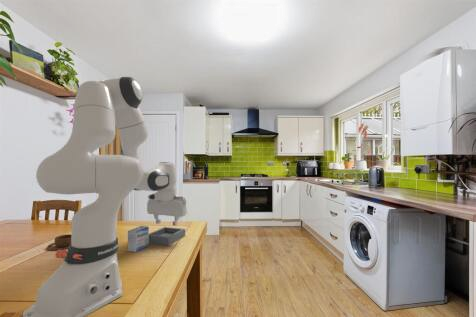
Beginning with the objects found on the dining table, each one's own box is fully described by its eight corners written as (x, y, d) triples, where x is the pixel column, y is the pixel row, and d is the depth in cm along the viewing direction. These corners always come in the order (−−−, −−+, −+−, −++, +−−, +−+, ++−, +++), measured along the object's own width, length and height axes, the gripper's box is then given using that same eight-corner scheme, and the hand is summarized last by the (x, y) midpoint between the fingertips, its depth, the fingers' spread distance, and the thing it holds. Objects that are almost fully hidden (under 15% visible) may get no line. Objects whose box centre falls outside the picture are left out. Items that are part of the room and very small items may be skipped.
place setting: (90, 240, 113) (90, 228, 113) (83, 256, 95) (83, 241, 95) (44, 246, 106) (44, 233, 106) (27, 264, 88) (27, 248, 88)
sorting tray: (185, 235, 118) (185, 228, 118) (168, 245, 105) (168, 237, 105) (164, 233, 122) (164, 226, 122) (146, 242, 109) (146, 234, 109)
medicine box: (136, 252, 97) (136, 231, 97) (127, 251, 99) (127, 230, 99) (149, 245, 105) (149, 226, 105) (140, 244, 106) (140, 225, 106)
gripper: (189, 195, 113) (189, 224, 113) (153, 193, 120) (153, 221, 120) (182, 197, 107) (182, 228, 107) (145, 195, 114) (144, 224, 114)
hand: (166, 224), depth 114 cm, fingers open, 8 cm apart
